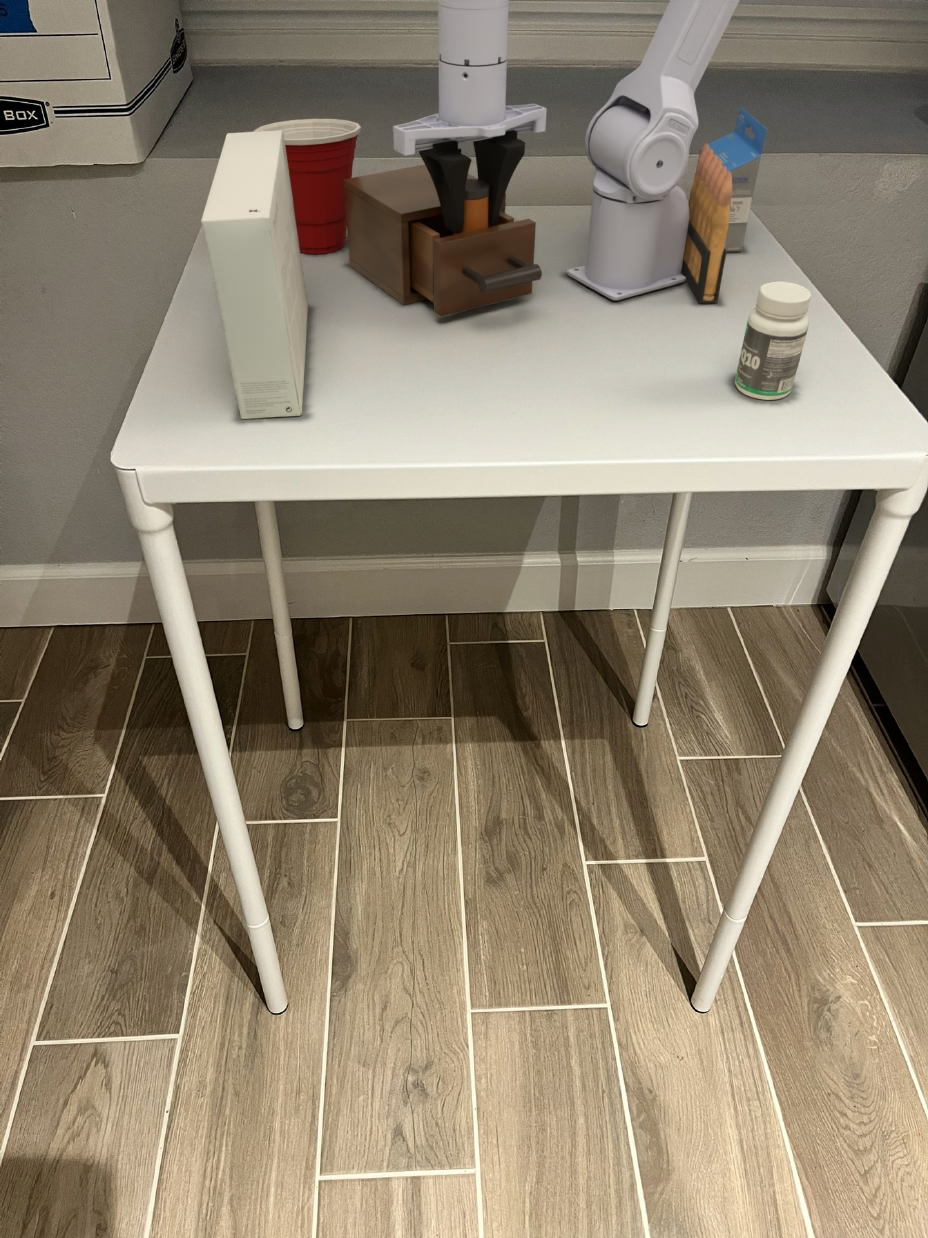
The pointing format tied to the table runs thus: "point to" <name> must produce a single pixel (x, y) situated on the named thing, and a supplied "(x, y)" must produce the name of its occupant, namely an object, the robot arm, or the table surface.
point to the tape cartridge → (740, 172)
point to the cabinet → (389, 225)
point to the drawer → (472, 263)
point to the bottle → (475, 205)
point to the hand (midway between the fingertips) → (470, 225)
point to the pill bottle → (773, 341)
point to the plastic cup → (319, 178)
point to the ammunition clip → (707, 227)
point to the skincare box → (258, 273)
